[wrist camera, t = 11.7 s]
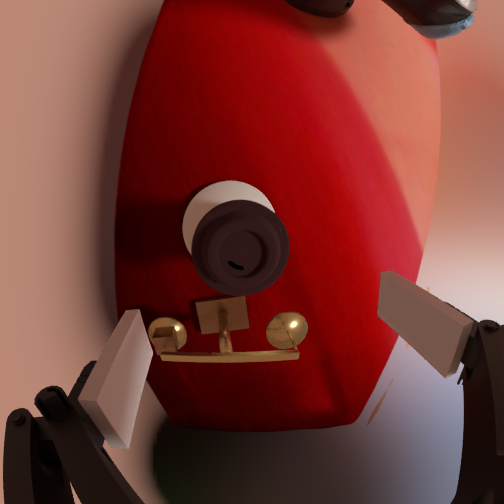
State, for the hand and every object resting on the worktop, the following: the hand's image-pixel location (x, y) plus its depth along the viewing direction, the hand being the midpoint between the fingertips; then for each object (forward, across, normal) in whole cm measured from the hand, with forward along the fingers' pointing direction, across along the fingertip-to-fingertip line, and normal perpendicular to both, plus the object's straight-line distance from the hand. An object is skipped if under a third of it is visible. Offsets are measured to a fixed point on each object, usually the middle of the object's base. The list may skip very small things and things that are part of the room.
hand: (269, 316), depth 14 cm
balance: (+29, -3, -14) cm, 32 cm away
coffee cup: (+28, 0, 0) cm, 28 cm away
